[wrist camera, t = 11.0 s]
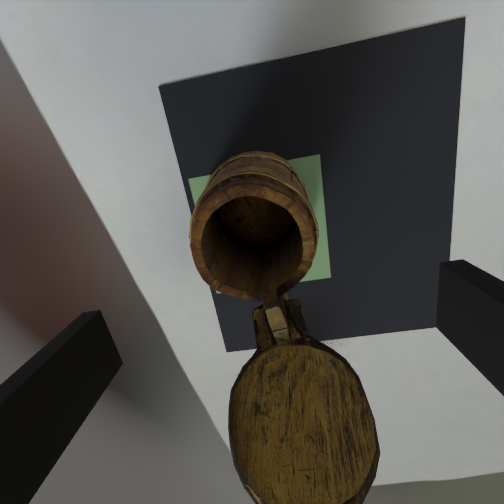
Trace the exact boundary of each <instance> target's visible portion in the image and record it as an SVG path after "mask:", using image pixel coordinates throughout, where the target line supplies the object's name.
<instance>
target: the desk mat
mask: <svg viewBox="0 0 504 504" xmlns="http://www.w3.org/2000/svg"><path fill="white" fill-rule="evenodd" d="M464 32H465V18H460V19H456V20H452V21H447V22H443V23H438V24H434V25H429V26H425V27H420V28H416V29H412V30H407V31H403V32H398V33H394V34H389V35H385V36H381V37H376V38H372V39H367V40H363V41H358V42H354V43H349V44H345V45H341V46H336V47H332V48H327V49H323V50H318V51H314V52H309V53H305V54H301V55H296V56H292V57H287V58H283V59H278V60H274V61H270V62H265V63H261V64H256V65H252V66H247V67H243V68H238V69H234V70H230V71H225V72H221V73H216V74H212V75H207V76H203V77H198V78H194V79H190V80H185V81H181V82H176V83H172V84H167V85H163V86H159V90H160V94H161V98H162V102H163V106H164V110H165V114H166V117H167V121H168V125H169V129H170V133H171V137H172V141H173V145H174V149H175V152H176V156H177V160H178V164H179V168H180V172H181V176H182V180H183V184H184V188H185V191H186V195H187V199H188V203H189V207H190V211H191V215H192V214H193V211H194V208H195V205H196V203H197V200H198V198H199V197H200V195H201V194H202V193H203V191H204V190H205V187H206V185H207V182H208V180H209V177H210V176H211V175H212V174H213V172H214V171H215V170H216V169H217V167H218V166H219V165H221V164H222V163H223V162H225V161H226V160H227V159H229V158H230V157H232V156H235V155H238V154H240V153H243V152H253V151H262V152H271V153H274V154H276V155H278V156H280V157H282V158H283V159H285V160H287V161H288V162H289V164H290V165H291V166H292V168H293V169H294V171H296V173H297V174H298V176H299V177H300V179H301V180H302V182H303V183H304V185H305V187H306V190H307V193H308V196H309V199H310V203H311V205H312V208H313V211H314V213H315V216H316V219H317V221H318V228H319V240H318V245H317V250H316V255H315V259H314V260H313V262H312V266H311V268H310V269H309V271H308V272H307V274H306V275H305V277H304V278H303V279H302V280H301V281H300V282H299V283H297V284H296V285H295V286H294V287H293V288H292V289H290V290H289V291H288V292H287V296H288V300H289V299H297V298H300V301H301V307H302V312H303V317H304V321H305V324H306V328H307V331H308V335H310V336H312V337H313V338H315V339H316V340H318V341H325V340H333V339H341V338H350V337H358V336H366V335H375V334H383V333H391V332H400V331H408V330H416V329H425V328H433V327H436V316H437V300H438V284H439V267H440V262H448V261H449V258H450V243H451V228H452V213H453V198H454V183H455V168H456V152H457V137H458V122H459V107H460V92H461V77H462V62H463V47H464ZM210 289H211V293H212V297H213V300H214V304H215V308H216V312H217V316H218V320H219V324H220V328H221V332H222V336H223V339H224V343H225V347H226V351H227V352H233V351H241V350H249V349H257V344H256V338H255V332H254V325H253V320H252V309H254V308H256V307H258V306H260V305H262V304H263V302H258V301H247V300H242V299H236V298H233V297H231V296H228V295H226V294H223V293H221V292H219V291H216V290H214V289H213V288H212V287H211V286H210Z"/></svg>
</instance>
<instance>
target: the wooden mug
mask: <svg viewBox="0 0 504 504" xmlns="http://www.w3.org/2000/svg"><path fill="white" fill-rule="evenodd" d="M189 238H190V246H191V251H192V256H193V259H194V262H195V265H196V268H197V270H198V271H199V273H200V275H201V277H202V279H203V280H204V281H205V282H206V283H207V284H208V285H210V286H211V287H212V288H213V289H214V290H216V291H219V292H221V293H223V294H226V295H228V296H231V297H233V298H236V299H242V300H247V301H258V302H263V304H262V305H260V306H258V307H256V308H254V309H252V320H253V325H254V332H255V338H256V344H257V350H256V351H255V353H254V355H253V356H252V357H251V358H250V359H249V360H248V362H247V363H246V364H245V365H244V366H243V368H242V370H241V371H240V373H239V375H238V377H237V379H236V381H235V383H234V385H233V387H232V389H231V394H230V402H229V417H228V430H229V441H230V448H231V453H232V457H233V462H234V466H235V468H236V471H237V473H238V475H239V477H240V480H241V482H242V484H243V486H244V489H245V490H246V491H247V493H248V494H249V495H250V497H251V498H252V500H253V501H254V502H255V504H362V503H363V502H364V499H365V497H366V495H367V493H368V491H369V489H370V487H371V485H372V483H373V481H374V479H375V477H376V472H377V467H378V462H379V457H380V448H379V443H378V437H377V431H376V426H375V420H374V417H373V414H372V411H371V409H370V406H369V403H368V400H367V397H366V394H365V392H364V389H363V386H362V384H361V381H360V379H359V376H358V375H357V374H356V372H355V371H354V369H353V368H352V367H351V365H350V364H349V363H348V361H347V360H346V359H345V358H344V357H342V356H341V355H340V354H338V353H337V352H336V351H334V350H333V349H332V348H330V347H328V346H326V345H325V344H323V343H321V342H319V341H318V340H316V339H315V338H313V337H312V336H310V335H308V331H307V328H306V324H305V321H304V317H303V312H302V307H301V301H300V298H297V299H289V300H288V296H287V292H288V291H289V290H290V289H292V288H293V287H294V286H295V285H296V284H297V283H299V282H300V281H301V280H302V279H303V278H304V277H305V275H306V274H307V272H308V271H309V269H310V268H311V266H312V262H313V260H314V259H315V255H316V250H317V245H318V240H319V228H318V221H317V219H316V216H315V213H314V211H313V208H312V205H311V203H310V199H309V196H308V193H307V190H306V187H305V185H304V183H303V182H302V180H301V179H300V177H299V176H298V174H297V173H296V171H294V169H293V168H292V166H291V165H290V164H289V162H288V161H287V160H285V159H283V158H282V157H280V156H278V155H276V154H274V153H271V152H262V151H253V152H243V153H240V154H238V155H235V156H232V157H230V158H229V159H227V160H226V161H225V162H223V163H222V164H221V165H219V166H218V167H217V169H216V170H215V171H214V172H213V174H212V175H211V176H210V177H209V180H208V182H207V185H206V187H205V190H204V191H203V193H202V194H201V195H200V197H199V198H198V200H197V203H196V205H195V208H194V211H193V214H192V217H191V220H190V233H189Z"/></svg>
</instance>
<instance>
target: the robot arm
mask: <svg viewBox="0 0 504 504" xmlns="http://www.w3.org/2000/svg"><path fill="white" fill-rule="evenodd" d="M436 327H437V328H438V330H439V331H440V332H441V333H442V334H443V335H444V336H445V337H446V338H447V339H448V340H449V341H450V342H451V343H452V344H453V345H454V346H455V347H456V348H457V349H458V350H459V351H460V352H461V353H462V354H463V355H464V356H465V357H466V358H467V359H468V360H469V361H470V362H471V363H472V364H473V365H474V366H475V367H476V368H477V369H478V370H479V371H480V372H481V373H482V374H483V375H484V376H485V377H486V378H487V379H488V380H489V381H490V382H491V383H492V385H493V386H494V387H495V388H496V389H497V390H498V391H499V392H500V393H501V394H502V395H503V396H504V281H502V280H500V279H498V278H496V277H494V276H492V275H491V274H489V273H487V272H485V271H483V270H481V269H479V268H478V267H476V266H474V265H472V264H470V263H468V262H467V261H465V260H463V259H462V260H455V261H448V262H440V267H439V284H438V300H437V316H436ZM122 364H123V362H122V360H121V357H120V355H119V353H118V350H117V348H116V346H115V343H114V341H113V339H112V336H111V334H110V332H109V329H108V327H107V325H106V322H105V320H104V318H103V316H102V313H101V311H100V310H97V311H90V312H83V313H82V314H81V315H79V316H78V317H77V318H76V319H75V320H74V321H73V322H72V323H70V324H69V325H68V326H67V327H66V328H65V329H64V330H62V331H61V332H60V333H59V334H58V335H57V336H56V337H54V338H53V339H52V340H51V341H50V342H49V343H48V344H47V345H45V346H44V347H43V348H42V349H41V350H40V351H39V352H37V353H36V354H35V355H34V356H33V357H32V358H31V359H29V360H28V361H27V362H26V363H25V364H24V365H23V366H21V367H20V368H19V369H18V370H17V371H16V372H15V373H14V374H12V375H11V376H10V377H9V378H8V379H7V380H5V382H3V383H2V384H1V385H0V504H29V502H30V501H31V499H32V498H33V496H34V495H35V493H36V492H37V490H38V489H39V487H40V486H41V484H42V483H43V481H44V480H45V478H46V477H47V475H48V474H49V473H50V471H51V470H52V468H53V467H54V465H55V464H56V462H57V460H58V459H59V458H60V456H61V455H62V453H63V452H64V450H65V449H66V447H67V446H68V444H69V443H70V441H71V439H72V438H73V437H74V435H75V433H76V432H77V431H78V429H79V428H80V426H81V425H82V423H83V422H84V421H85V419H86V418H87V416H88V415H89V413H90V412H91V410H92V409H93V407H94V406H95V404H96V403H97V401H98V400H99V398H100V397H101V395H102V393H103V392H104V391H105V389H106V388H107V386H108V385H109V383H110V382H111V380H112V379H113V377H114V376H115V374H116V373H117V371H118V370H119V368H120V367H121V365H122Z"/></svg>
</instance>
